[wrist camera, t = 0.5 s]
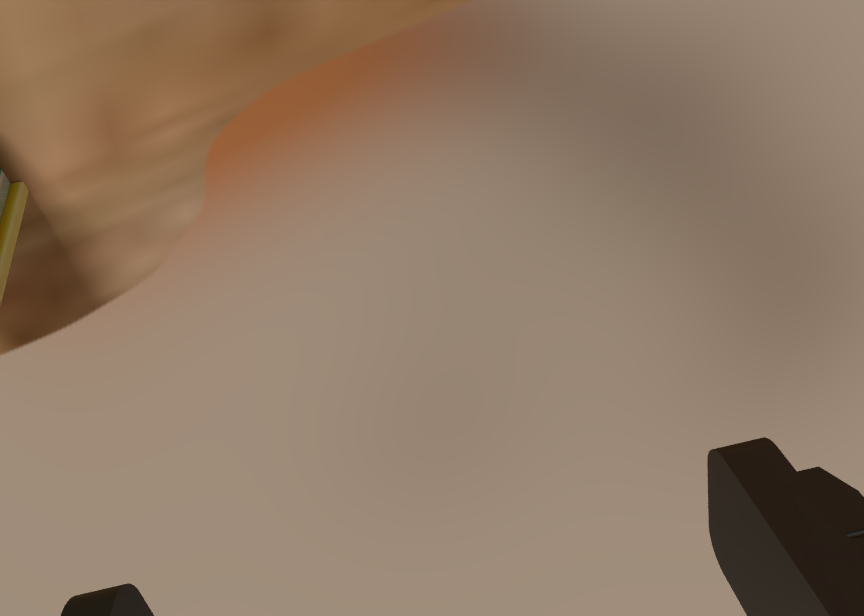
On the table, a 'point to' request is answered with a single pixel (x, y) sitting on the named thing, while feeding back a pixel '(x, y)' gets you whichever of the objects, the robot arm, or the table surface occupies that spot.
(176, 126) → the table surface
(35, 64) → the table surface
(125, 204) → the table surface
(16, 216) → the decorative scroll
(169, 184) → the table surface
